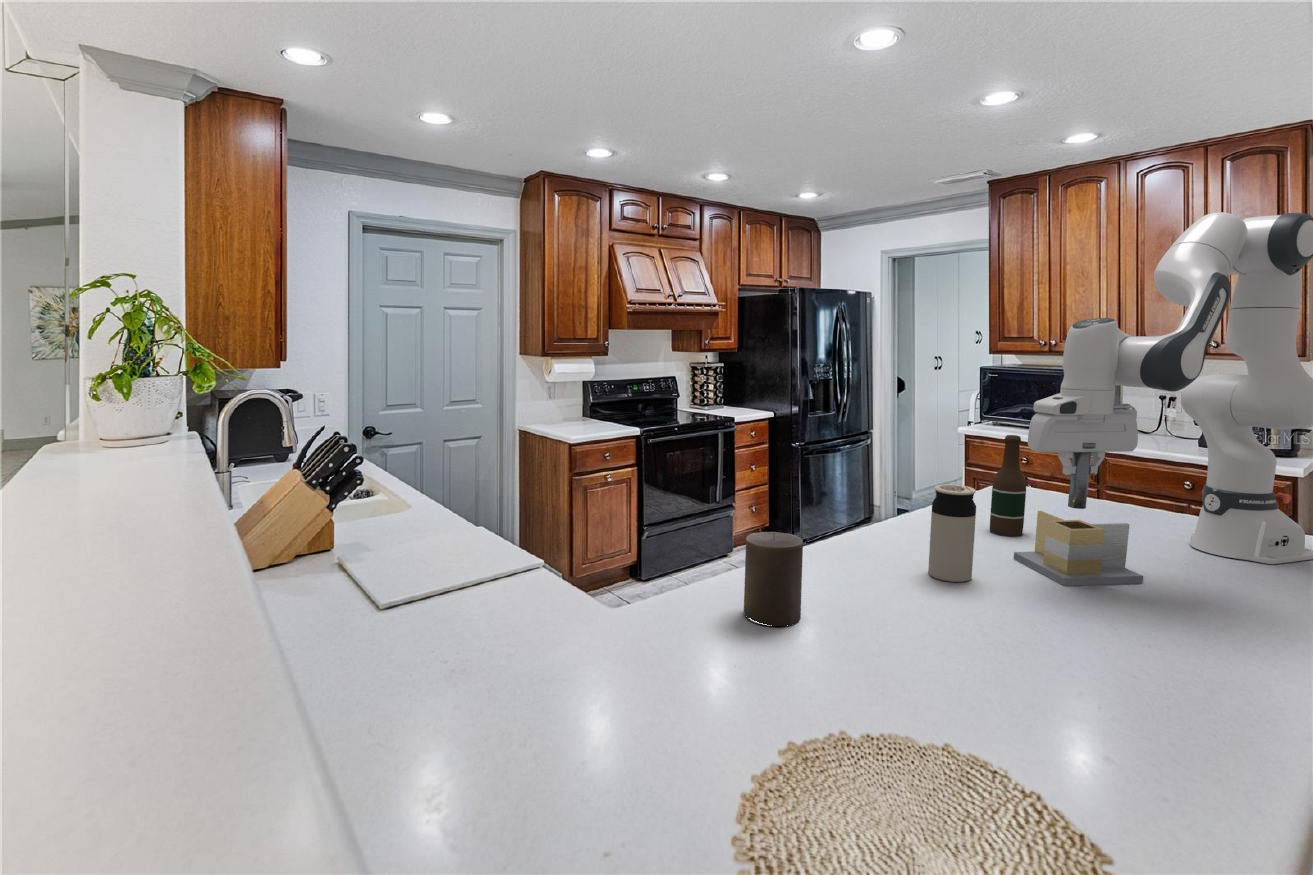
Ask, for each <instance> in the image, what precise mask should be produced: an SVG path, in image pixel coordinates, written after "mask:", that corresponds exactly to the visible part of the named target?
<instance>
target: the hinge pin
mask: <svg viewBox="0 0 1313 875" xmlns="http://www.w3.org/2000/svg"><path fill="white" fill-rule="evenodd" d="M1082 448H1085V449H1093V448H1096V443H1083V445H1082ZM1091 459H1092V456H1091V452H1073V453H1072V459H1071V464H1072V466H1076V474H1075V475H1070V479H1069V480H1070V481H1069V491H1068V501H1067V502H1068V503H1067V507H1069V508H1071V509H1078V510H1084V509H1085V510H1086V508H1087V501H1088V490H1089V480H1090V479H1089V478H1090V475H1089V470H1090V460H1091Z"/></svg>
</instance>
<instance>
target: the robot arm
mask: <svg viewBox="0 0 1313 875" xmlns="http://www.w3.org/2000/svg"><path fill="white" fill-rule="evenodd" d="M1312 259H1313V216H1312V215H1311V214H1308V213H1304V212H1303V213H1300V212H1285V213H1283V214H1274V215H1262V216H1259V215H1258V216H1253V217H1252V216H1251V217H1246V218H1244V219H1242V218H1241V217H1239V216H1237V215H1235V214H1233V213H1230V212H1222V211H1221V212H1220V211H1219V212H1211V213H1207V214H1205V215H1203V216H1202V217H1199V218H1198V219H1197V220H1196V221H1194V222H1193V223H1192V224H1190V226H1189V227H1188V228H1187V229H1185V230H1184V231H1183V232H1182V233H1181V234H1180V236H1178V238H1177V239H1176V240H1175V241H1174V242H1173V243H1172V245H1171V246H1170V247H1169V249H1168V250H1167V251H1166V252H1165V253H1164V255H1163V256H1162V257H1161V259H1160V260H1159V261H1158V263H1157V265H1156V267H1155V269H1154V272H1153V281H1154V285H1155V287H1156V289H1157V290H1158V292H1159V293H1160V294H1161V295H1162V296H1163V297H1164V298H1165V299H1166V300H1168V301H1169V302H1172V303H1174V304H1176V305H1179V306H1183V307H1186V308H1187V309H1186V310H1185V313H1184V315H1183V317H1182V319H1181V321H1180V323H1179V325H1178V327H1177V329H1175V331H1172V332H1170V333H1167V334H1163V335H1157V336H1156V335H1154V336H1153V335H1151V336H1149V335H1148V336H1146V335H1145V336H1137V335H1136V336H1135V335H1134V336H1133V335H1130V334H1128V333H1125V332H1124V331H1123V330H1122V329H1120V328H1119V324H1118V321H1117V320H1116V319H1115V318H1111V317H1098V318H1096V317H1095V318H1090V319H1084V320H1078V321H1077V322H1075V323H1073V324H1071V326H1070V327H1069V329H1068V332H1067V335H1066V339H1065V341H1064V342H1065V344H1064V347H1063V356H1062V369H1063V379H1062V382H1061V383H1060V389H1059V390H1060V392H1059V393H1056V394H1053V395H1051V396H1048V397H1045V398H1042V399H1039V400H1036V401H1035V402H1034V403H1033V411H1034V412H1035V413H1034V415H1033V416H1032V417H1031V420H1030V423H1029V428H1028V433H1027V434H1028V435H1027V446H1028V447H1029V449H1030V450H1031V451H1032V452H1036V453H1040V454H1041V453H1043V454H1045V453H1046V454H1048V453H1052V454H1053V453H1055V454H1056V453H1057V454H1058V455H1057V457H1058V459H1059V461H1060V462H1061V464H1062V474H1063V475H1064V476H1071V475H1075V474H1076V466H1072V460H1071V458H1072V455H1073V452H1091V459H1090V470H1089V476H1091V475H1092V476H1096V475H1097V474H1098V470H1099V467H1100V465H1101V463H1103V461H1104V459H1105V457H1106V453H1108V452H1109V453H1111V452H1112V453H1115V452H1117V453H1118V452H1119V453H1120V452H1122V453H1123V452H1134V450H1136V448H1137V446H1138V441H1139V438H1138V437H1139V436H1138V435H1139V433H1138V432H1139V431H1138V422H1137V419H1138V418H1137V416H1138V411H1137V409H1136V408H1135V407H1134V406H1133V405H1131V403H1115V397H1116V396H1115V394H1116V386H1120V387H1121V386H1122V387H1123V386H1124V387H1128V388H1129V387H1130V388H1145V389H1153V390H1158V391H1167V392H1178V391H1180V390H1182V392H1181V395H1180V403H1181V407H1182V409H1183V410H1184V413H1186V414H1187V415H1188V416H1189V417H1190V418H1191V419H1192V420H1194V422H1195V423H1196V424H1197V426H1198V428H1199V429H1200V430H1201V432H1202V434H1203V437H1204V439H1205V442H1206V446H1207V452H1208V456H1207V457H1208V459H1207V472H1206V474H1207V476H1206V482H1205V484H1204V485H1203V489H1202V491H1201V492H1202V496H1201V500H1202V506H1201V508H1200V510H1199V511H1200V512H1199V515H1198V519H1197V522H1196V527H1195V530H1194V533H1192V535H1191V540H1190V542H1189V545H1190V546H1191V547H1192V548H1195V549H1196V550H1198V551H1202V552H1204V553H1208V554H1212V555H1217V556H1219V557H1224V558H1225V557H1226V558H1230V559H1231V558H1232V559H1238V560H1244V561H1252V562H1257V563H1262V564H1268V565H1276V564H1286V563H1293V562H1299V561H1300V562H1301V561H1308V560H1309V561H1310V560H1313V549H1311V548H1308V547H1306V533H1305V529H1304V528H1303V527H1302V526H1301V525H1300V524H1299V523H1297V522H1295V521H1294V520H1293V519H1292V518H1290V517H1289V516H1288V515H1287V514H1286V513H1284V512H1283V511H1282V510H1280V509H1279V508H1280V505H1279V503H1282V504H1289V503H1290V502H1292V496H1291V494H1288V493H1282V492H1277V493H1276V492H1274V486H1275V485H1274V484H1275V476H1276V469H1277V468H1276V467H1277V462H1278V461H1277V457H1276V455H1275V454H1274V451H1272V450H1271V449H1270V448H1268V447H1267V446H1265V445H1263V444H1262V443H1261V442H1260V441H1259V440H1258V438H1257V437H1256V436H1255V434H1254V431H1253V428H1254V427H1255V428H1264V429H1274V430H1296V429H1308V428H1312V427H1313V377H1311V376H1310V375H1309V373H1307V371H1306V370H1305V368H1304V367H1303V364H1302V363H1301V360H1300V359H1299V355H1298V350H1297V331H1298V325H1299V324H1298V323H1299V317H1300V312H1301V310H1300V309H1301V304H1302V292H1303V291H1302V290H1303V283H1302V282H1303V281H1302V269H1303V267H1304V266H1305V265H1307V264H1308V263H1309V262H1310V261H1311V260H1312ZM1228 275H1229V276H1232V275H1233V276H1234V275H1235V276H1236V275H1238V278H1237V281H1236V283H1235V286H1234V289H1233V292H1232V285H1231V281H1230V280H1229V278H1228V277H1227V276H1228ZM1231 293H1232V297H1231ZM1230 298H1231V301H1230ZM1229 301H1230V306H1229V312H1228V318H1227V325H1226V332H1225V339H1224V342H1225V343H1224V344H1225V346H1226V348H1227V350H1229V351H1230V352H1231V353H1233V354H1234V355H1235V356H1238V357H1240V358H1242V360H1243V361H1244V363H1245V365H1246V367H1247V368H1246V369H1247V374H1231V373H1230V374H1229V373H1217V374H1214V373H1213V374H1209V375H1201V372H1202V370H1203V367H1204V364H1205V360H1206V359H1205V358H1206V353H1207V350H1208V349H1209V346H1210V344H1211V343H1212V341H1213V338H1214V336H1215V333H1216V331H1217V329H1218V327H1219V325H1220V322H1221V320H1222V318H1223V316H1224V314H1225V312H1226V310H1227V307H1228V304H1229ZM1200 375H1201V376H1200ZM1083 443H1096V448H1093V449H1085V448H1082V445H1083Z"/></svg>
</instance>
